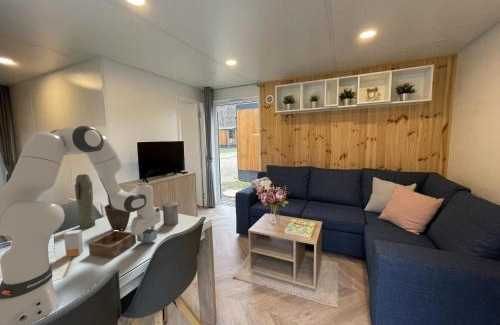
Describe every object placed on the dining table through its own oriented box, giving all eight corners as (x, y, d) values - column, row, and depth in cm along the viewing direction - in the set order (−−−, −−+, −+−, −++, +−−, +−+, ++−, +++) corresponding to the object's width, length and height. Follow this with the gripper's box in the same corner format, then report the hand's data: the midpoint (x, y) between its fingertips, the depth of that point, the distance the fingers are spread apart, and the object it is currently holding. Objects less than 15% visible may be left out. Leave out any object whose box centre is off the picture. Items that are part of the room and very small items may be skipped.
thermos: (100, 222, 153) (95, 173, 149) (88, 229, 142) (83, 176, 137) (87, 222, 153) (82, 173, 149) (74, 230, 141) (68, 176, 137)
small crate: (150, 242, 120) (149, 234, 120) (137, 241, 122) (136, 232, 121) (156, 238, 126) (156, 229, 125) (144, 236, 128) (144, 228, 127)
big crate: (112, 258, 108) (111, 246, 108) (89, 254, 111) (88, 243, 111) (136, 242, 124) (135, 232, 123) (115, 240, 127) (114, 230, 126)
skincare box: (65, 257, 109) (63, 234, 108) (70, 252, 114) (67, 230, 112) (80, 255, 111) (77, 232, 110) (83, 251, 115) (81, 229, 114)
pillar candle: (162, 221, 154) (161, 201, 152) (177, 219, 159) (176, 199, 157) (164, 227, 146) (163, 205, 144) (179, 224, 150) (178, 203, 148)
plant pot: (137, 224, 149) (136, 202, 147) (123, 234, 135) (121, 209, 133) (117, 223, 151) (115, 201, 149) (100, 233, 136) (98, 208, 134)
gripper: (137, 219, 111) (138, 245, 113) (161, 207, 131) (163, 229, 133) (126, 218, 113) (128, 244, 114) (152, 206, 133) (153, 228, 134)
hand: (147, 236), depth 124 cm, fingers closed on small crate, 6 cm apart
